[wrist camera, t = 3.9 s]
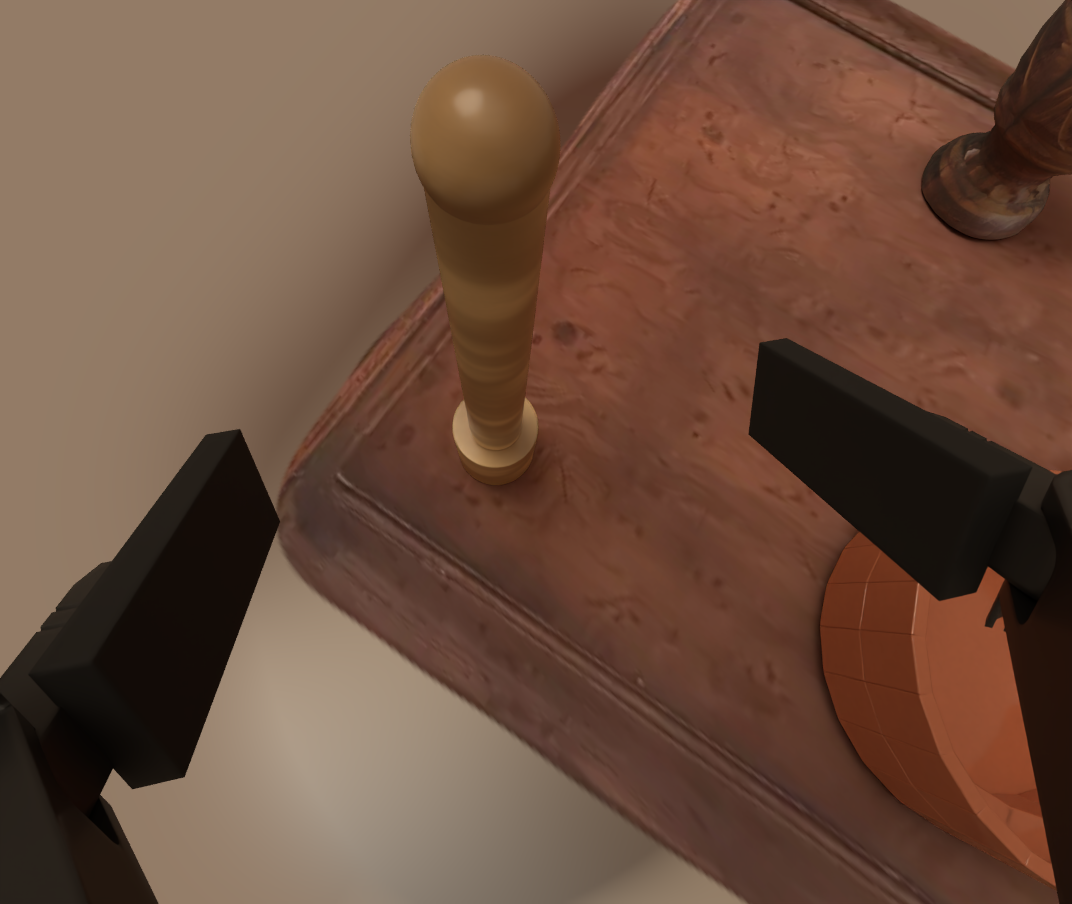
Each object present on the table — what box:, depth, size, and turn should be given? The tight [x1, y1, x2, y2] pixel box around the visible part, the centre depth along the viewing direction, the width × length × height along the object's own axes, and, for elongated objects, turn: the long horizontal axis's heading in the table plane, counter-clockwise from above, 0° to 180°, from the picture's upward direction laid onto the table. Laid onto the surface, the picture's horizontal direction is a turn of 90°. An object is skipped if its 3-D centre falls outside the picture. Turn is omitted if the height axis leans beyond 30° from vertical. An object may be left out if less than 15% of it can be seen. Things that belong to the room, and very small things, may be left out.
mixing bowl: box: [820, 470, 1062, 891], centre depth 24 cm, size 16×16×7 cm
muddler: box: [410, 55, 560, 485], centre depth 18 cm, size 4×4×21 cm
